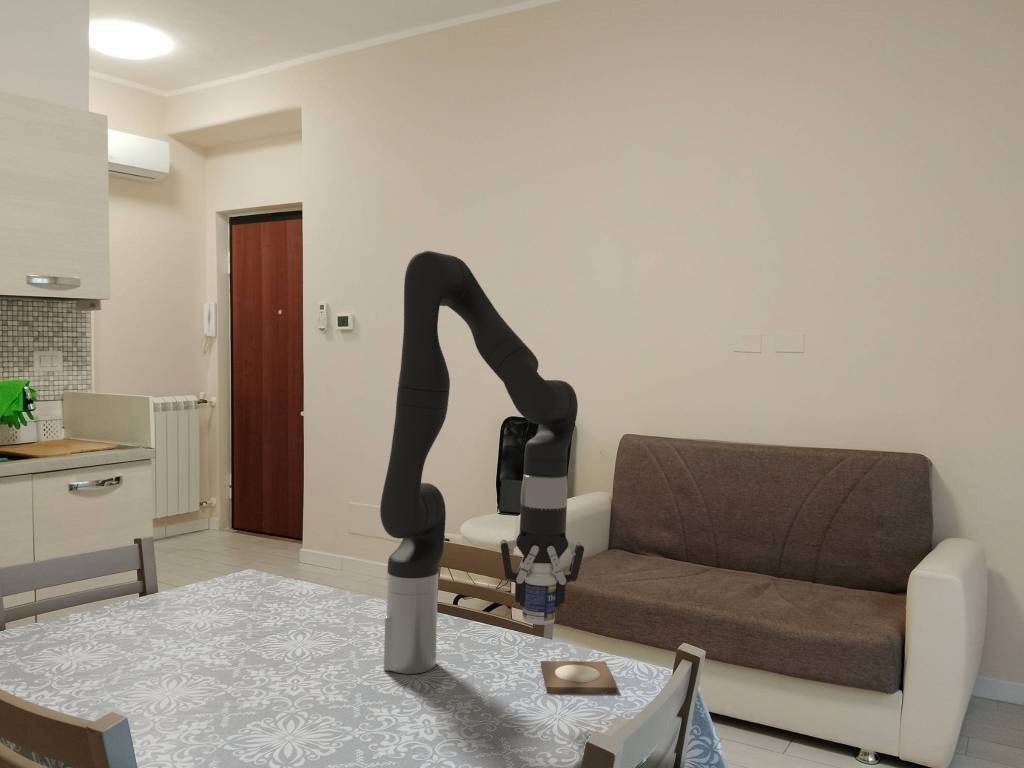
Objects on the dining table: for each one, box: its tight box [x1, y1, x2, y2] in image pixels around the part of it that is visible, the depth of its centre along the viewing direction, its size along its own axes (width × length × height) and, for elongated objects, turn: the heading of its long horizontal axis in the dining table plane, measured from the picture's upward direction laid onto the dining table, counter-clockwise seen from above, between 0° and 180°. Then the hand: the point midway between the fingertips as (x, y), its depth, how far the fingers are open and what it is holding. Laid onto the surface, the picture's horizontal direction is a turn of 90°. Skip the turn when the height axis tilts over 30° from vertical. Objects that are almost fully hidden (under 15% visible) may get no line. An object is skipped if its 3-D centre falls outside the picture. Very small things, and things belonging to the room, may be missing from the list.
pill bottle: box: [522, 563, 557, 626], centre depth 131 cm, size 5×5×10 cm
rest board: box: [540, 660, 618, 694], centre depth 142 cm, size 12×12×1 cm
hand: (539, 604), depth 131 cm, fingers closed on pill bottle, 5 cm apart
